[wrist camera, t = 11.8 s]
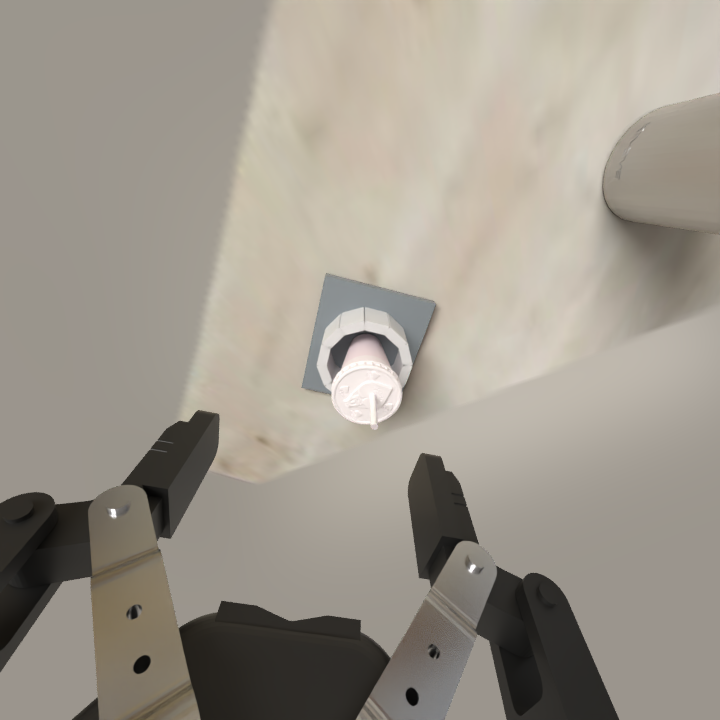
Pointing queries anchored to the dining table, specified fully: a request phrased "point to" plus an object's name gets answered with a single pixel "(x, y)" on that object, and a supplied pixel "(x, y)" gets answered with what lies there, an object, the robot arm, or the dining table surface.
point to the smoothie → (366, 384)
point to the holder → (364, 328)
